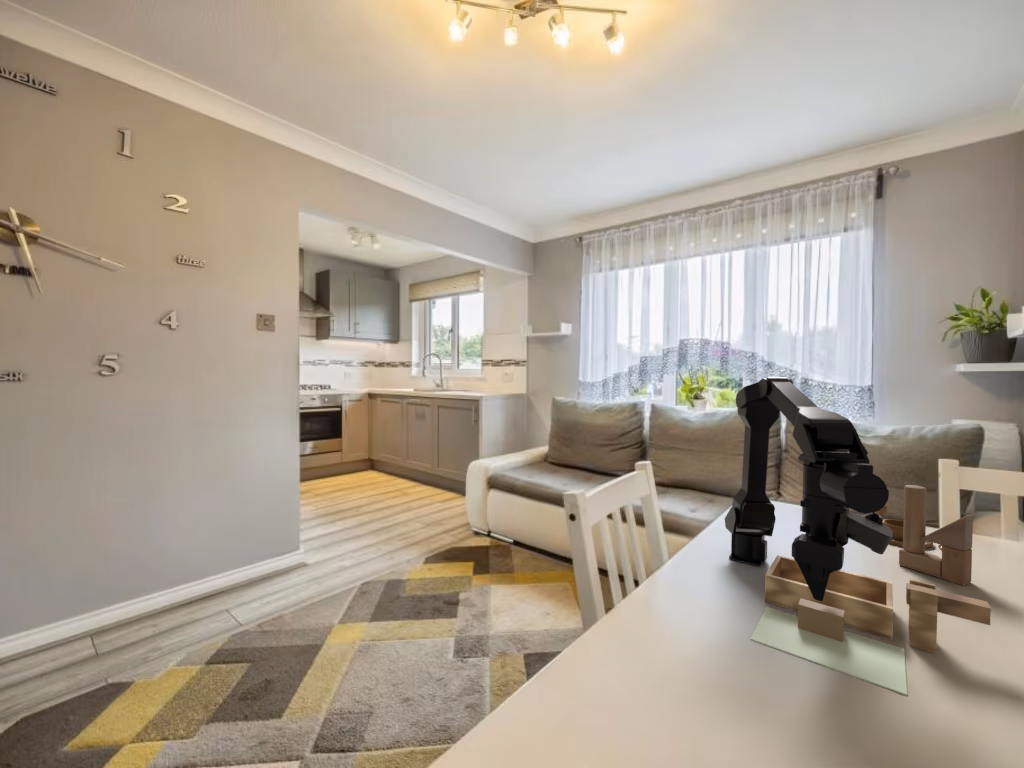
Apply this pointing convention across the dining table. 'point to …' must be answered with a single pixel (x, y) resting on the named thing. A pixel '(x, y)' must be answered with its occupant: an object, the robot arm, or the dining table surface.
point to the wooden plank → (956, 605)
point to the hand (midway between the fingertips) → (821, 589)
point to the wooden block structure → (935, 541)
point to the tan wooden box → (857, 601)
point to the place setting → (898, 530)
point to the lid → (832, 644)
